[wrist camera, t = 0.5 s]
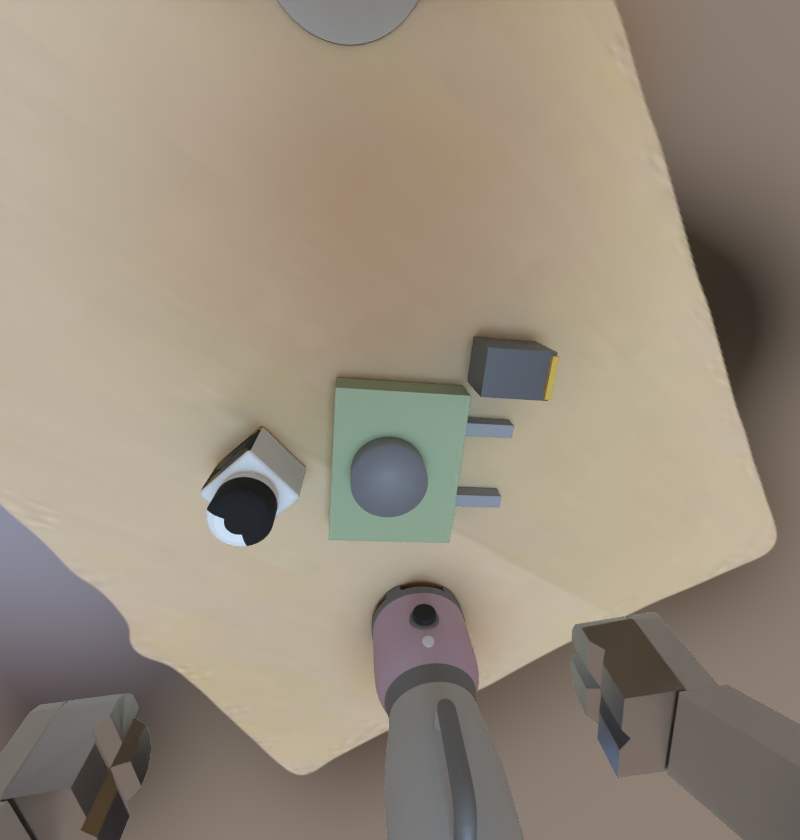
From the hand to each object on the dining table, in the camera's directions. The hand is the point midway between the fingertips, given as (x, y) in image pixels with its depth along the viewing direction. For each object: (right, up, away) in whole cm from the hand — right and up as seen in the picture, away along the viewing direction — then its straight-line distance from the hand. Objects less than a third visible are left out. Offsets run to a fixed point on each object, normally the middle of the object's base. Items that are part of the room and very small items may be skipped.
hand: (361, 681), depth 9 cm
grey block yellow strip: (+12, +11, +43) cm, 46 cm away
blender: (+3, -20, +54) cm, 58 cm away
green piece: (+3, +1, +46) cm, 46 cm away
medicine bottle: (-15, 0, +45) cm, 48 cm away
